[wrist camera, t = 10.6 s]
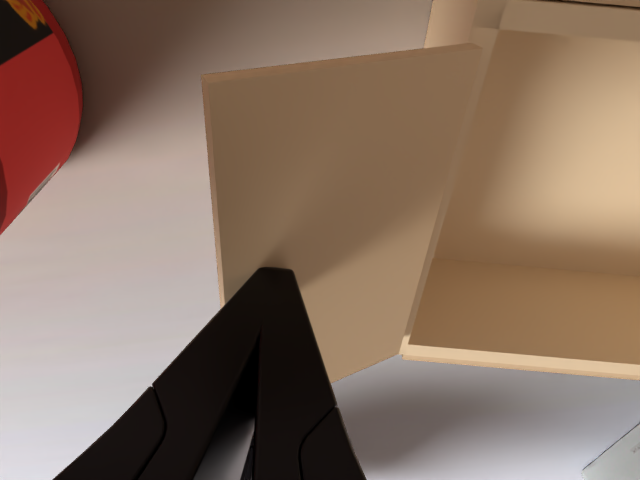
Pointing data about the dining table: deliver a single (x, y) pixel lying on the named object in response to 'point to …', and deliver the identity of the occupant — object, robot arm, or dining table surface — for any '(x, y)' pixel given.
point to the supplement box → (618, 460)
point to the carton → (538, 194)
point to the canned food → (34, 103)
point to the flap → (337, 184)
